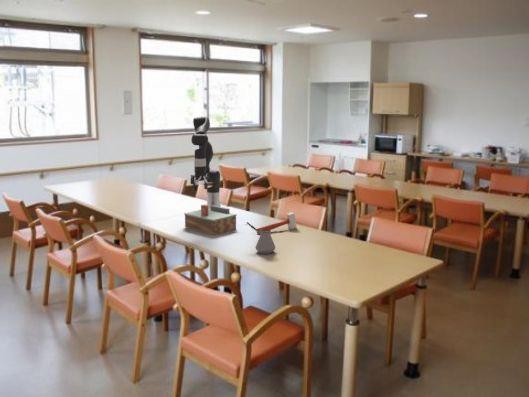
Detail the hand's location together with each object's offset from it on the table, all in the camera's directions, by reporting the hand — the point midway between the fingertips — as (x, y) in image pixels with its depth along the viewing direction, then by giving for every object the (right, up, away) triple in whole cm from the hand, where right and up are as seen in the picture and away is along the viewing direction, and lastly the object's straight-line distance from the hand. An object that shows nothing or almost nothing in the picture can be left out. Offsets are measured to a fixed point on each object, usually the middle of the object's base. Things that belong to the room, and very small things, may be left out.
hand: (200, 189), depth 345 cm
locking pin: (+2, -22, +4) cm, 22 cm away
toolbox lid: (+6, -17, +7) cm, 19 cm away
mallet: (+50, -27, +4) cm, 57 cm away
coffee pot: (+39, -36, -40) cm, 66 cm away
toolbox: (+6, -26, +8) cm, 28 cm away
